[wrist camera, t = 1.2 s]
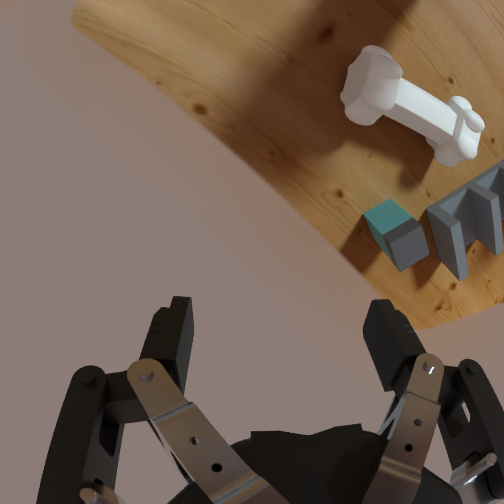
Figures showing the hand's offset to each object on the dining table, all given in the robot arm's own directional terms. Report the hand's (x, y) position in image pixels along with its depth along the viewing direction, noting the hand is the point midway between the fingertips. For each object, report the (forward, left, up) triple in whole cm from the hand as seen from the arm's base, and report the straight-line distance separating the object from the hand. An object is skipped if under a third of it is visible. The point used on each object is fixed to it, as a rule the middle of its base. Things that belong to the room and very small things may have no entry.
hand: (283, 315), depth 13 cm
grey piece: (-29, +19, -22) cm, 41 cm away
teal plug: (-11, +12, -23) cm, 28 cm away
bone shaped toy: (-19, 0, -23) cm, 29 cm away
